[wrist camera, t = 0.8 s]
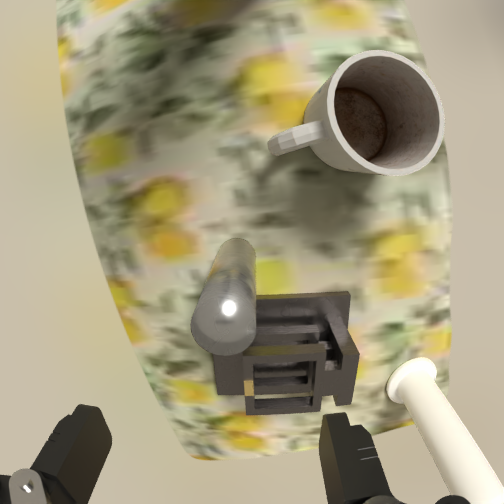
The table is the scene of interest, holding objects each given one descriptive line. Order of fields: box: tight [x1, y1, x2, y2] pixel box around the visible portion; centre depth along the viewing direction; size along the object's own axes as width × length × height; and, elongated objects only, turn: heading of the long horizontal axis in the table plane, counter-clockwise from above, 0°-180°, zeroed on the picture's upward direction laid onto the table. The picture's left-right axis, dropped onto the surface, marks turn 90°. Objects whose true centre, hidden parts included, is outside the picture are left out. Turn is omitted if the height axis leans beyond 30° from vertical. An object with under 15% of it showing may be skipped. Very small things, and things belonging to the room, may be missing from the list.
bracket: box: [213, 291, 360, 415], centre depth 30 cm, size 12×14×7 cm
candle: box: [386, 358, 504, 504], centre depth 23 cm, size 7×7×25 cm
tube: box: [191, 238, 256, 356], centre depth 24 cm, size 4×4×14 cm
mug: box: [268, 50, 445, 176], centre depth 23 cm, size 12×9×10 cm
